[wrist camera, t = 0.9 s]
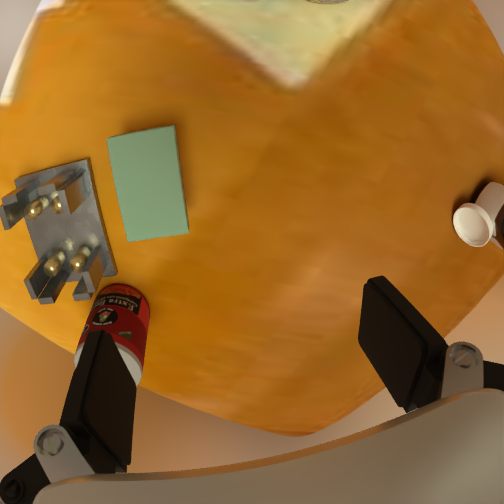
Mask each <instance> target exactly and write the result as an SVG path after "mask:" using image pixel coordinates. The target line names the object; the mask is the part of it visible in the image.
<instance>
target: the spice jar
mask: <svg viewBox="0 0 504 504" xmlns="http://www.w3.org/2000/svg"><path fill="white" fill-rule="evenodd" d="M453 224H454V228H455V230H456V232H457V234H458V235H459V237H460V238H461V239H462V240H463V241H464V242H466V243H467V244H469V245H471V246H475V247H481V246H484V245H485V244H486V243H487V242H488V241H489V240H490V241H491V242H493V243H494V244H495V245H497V246H498V247H500V248H501V249H502V250H504V186H503V185H501V184H499V183H496V182H489V183H487V184H486V185H484V186H483V187H482V188H481V189H480V190H479V192H478V193H477V194H476V196H475V198H474V200H473V202H472V203H465V204H462V205H461V206H460V207H459V208H458V209H457V210H456V212H455V213H454V216H453Z"/></svg>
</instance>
